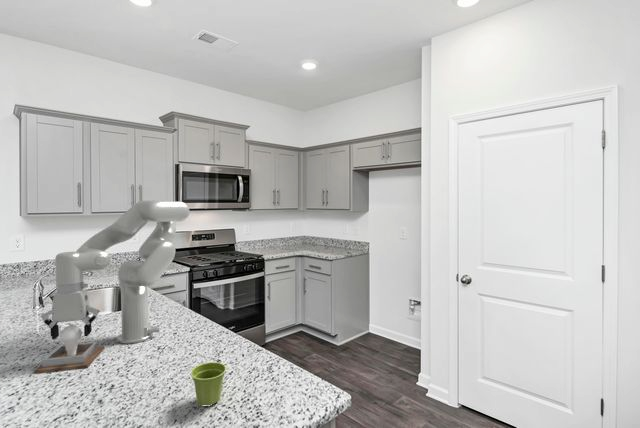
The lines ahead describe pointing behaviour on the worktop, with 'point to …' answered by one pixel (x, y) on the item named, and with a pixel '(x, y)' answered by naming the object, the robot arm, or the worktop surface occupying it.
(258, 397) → the worktop surface
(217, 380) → the plant pot
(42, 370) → the socket base
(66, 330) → the lightbulb
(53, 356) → the square picture frame
